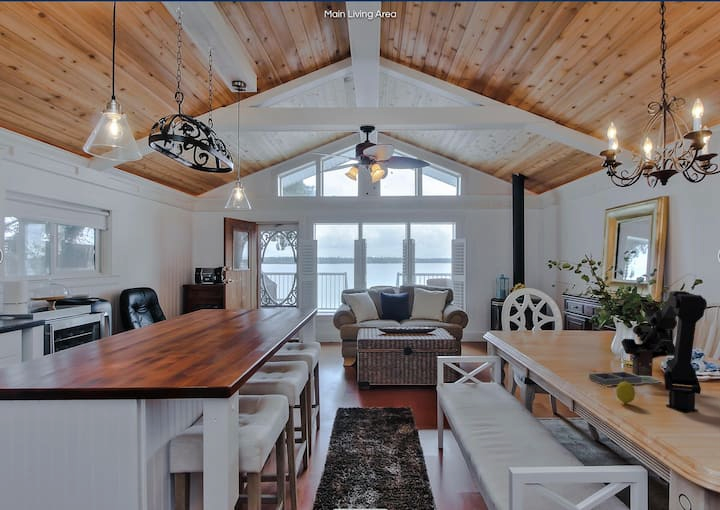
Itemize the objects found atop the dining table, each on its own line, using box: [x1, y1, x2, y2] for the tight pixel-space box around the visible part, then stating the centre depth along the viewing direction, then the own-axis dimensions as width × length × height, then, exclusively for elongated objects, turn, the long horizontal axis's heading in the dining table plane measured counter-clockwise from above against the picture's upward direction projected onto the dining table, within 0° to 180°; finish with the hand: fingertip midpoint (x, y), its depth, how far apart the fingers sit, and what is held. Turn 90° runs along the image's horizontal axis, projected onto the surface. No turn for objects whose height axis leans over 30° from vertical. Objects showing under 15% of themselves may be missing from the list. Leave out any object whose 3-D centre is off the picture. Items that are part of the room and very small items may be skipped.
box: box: [631, 350, 654, 377], centre depth 178 cm, size 6×4×12 cm
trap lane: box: [588, 371, 663, 387], centre depth 176 cm, size 10×27×2 cm, turn 103°
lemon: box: [615, 381, 636, 405], centre depth 148 cm, size 6×6×8 cm
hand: (640, 358), depth 179 cm, fingers closed on box, 6 cm apart
